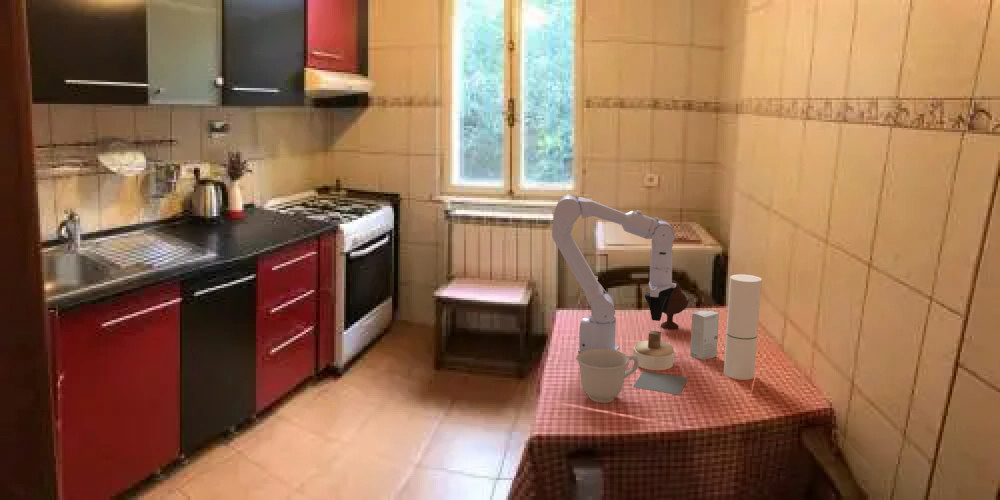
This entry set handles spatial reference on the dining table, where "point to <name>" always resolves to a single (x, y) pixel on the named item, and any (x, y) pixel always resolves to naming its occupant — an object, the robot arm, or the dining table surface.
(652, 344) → the lid
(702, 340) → the skincare box
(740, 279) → the cylindrical container
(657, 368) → the bowl
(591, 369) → the teacup
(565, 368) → the dining table surface
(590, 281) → the robot arm
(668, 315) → the ice cream bowl
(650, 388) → the mat
